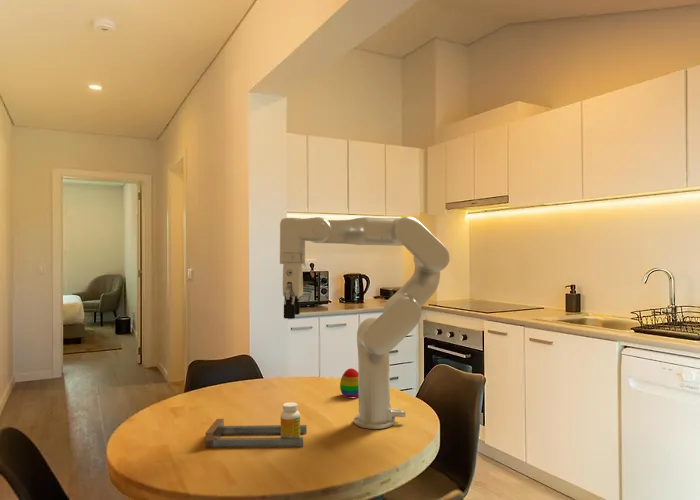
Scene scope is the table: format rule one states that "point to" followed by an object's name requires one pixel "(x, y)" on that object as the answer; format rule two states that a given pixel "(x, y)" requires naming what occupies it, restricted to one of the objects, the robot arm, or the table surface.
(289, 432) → the supplement bottle
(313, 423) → the table surface
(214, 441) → the u-shaped frame
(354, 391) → the decorative egg
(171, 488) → the table surface
